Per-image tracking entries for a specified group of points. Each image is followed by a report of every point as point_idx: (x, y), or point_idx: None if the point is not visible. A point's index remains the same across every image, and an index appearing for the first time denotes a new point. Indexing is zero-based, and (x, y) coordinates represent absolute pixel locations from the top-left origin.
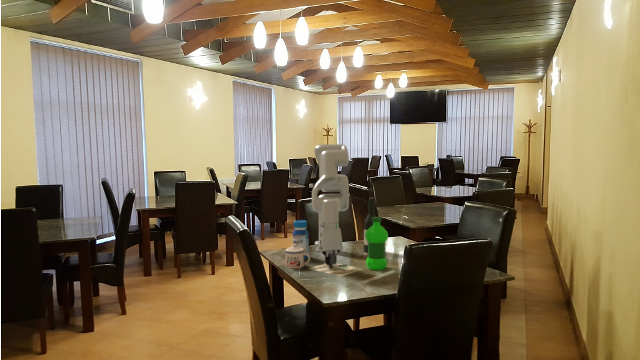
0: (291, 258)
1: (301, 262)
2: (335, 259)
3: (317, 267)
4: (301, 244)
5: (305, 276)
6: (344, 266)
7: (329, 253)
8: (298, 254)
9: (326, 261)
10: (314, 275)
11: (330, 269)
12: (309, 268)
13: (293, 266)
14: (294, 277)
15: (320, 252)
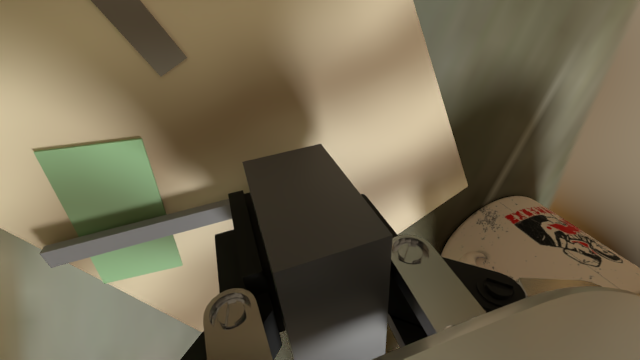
0: (618, 254)
1: (516, 245)
2: (256, 196)
3: (393, 204)
4: None
5: (555, 14)
6: (93, 209)
7: (375, 307)
8: (619, 287)
9: (368, 202)
10: (481, 22)
11: (303, 116)
12: (461, 182)
13: (549, 210)
14: (627, 13)
15: (550, 280)
